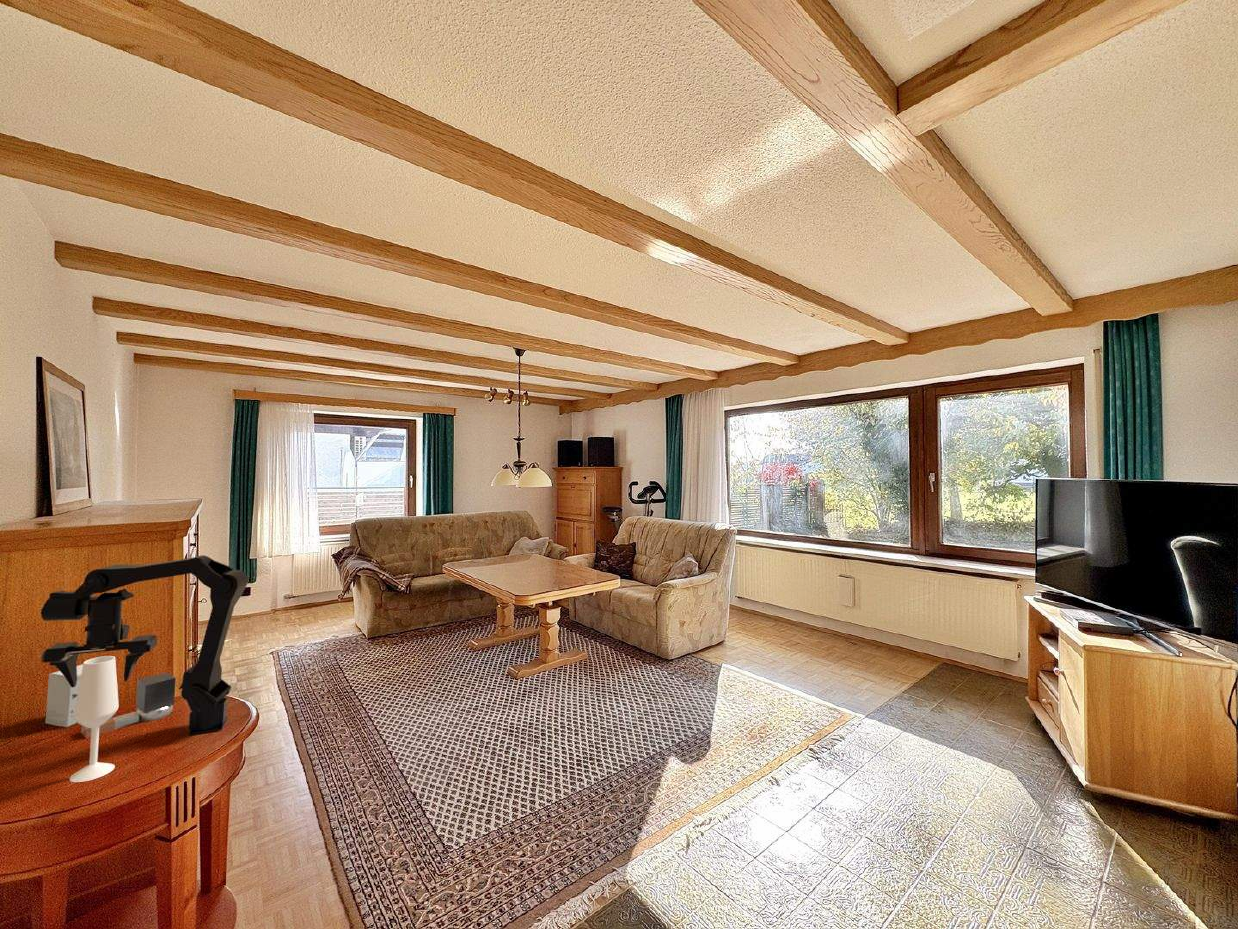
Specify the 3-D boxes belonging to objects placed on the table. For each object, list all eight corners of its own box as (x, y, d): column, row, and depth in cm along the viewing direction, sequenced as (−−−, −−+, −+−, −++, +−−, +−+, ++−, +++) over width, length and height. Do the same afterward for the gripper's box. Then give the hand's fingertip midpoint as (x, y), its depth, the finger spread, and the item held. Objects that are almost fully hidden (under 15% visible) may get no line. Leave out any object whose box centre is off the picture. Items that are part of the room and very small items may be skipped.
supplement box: (66, 728, 123) (69, 677, 123) (44, 724, 124) (47, 673, 124) (102, 714, 130) (105, 666, 130) (81, 710, 131) (84, 662, 132)
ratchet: (79, 731, 121) (81, 704, 121) (167, 706, 135) (168, 682, 135) (87, 740, 118) (89, 713, 118) (176, 713, 132) (177, 689, 132)
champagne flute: (113, 759, 111) (119, 652, 111) (116, 772, 106) (123, 660, 107) (68, 773, 105) (75, 659, 106) (70, 786, 101) (77, 668, 102)
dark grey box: (165, 698, 135) (167, 672, 135) (174, 704, 132) (175, 678, 132) (136, 706, 130) (137, 679, 130) (143, 713, 126) (145, 685, 127)
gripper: (166, 606, 131) (162, 665, 131) (67, 613, 122) (63, 677, 122) (151, 618, 121) (147, 682, 121) (42, 626, 112) (37, 695, 112)
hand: (100, 683), depth 119 cm, fingers open, 9 cm apart
